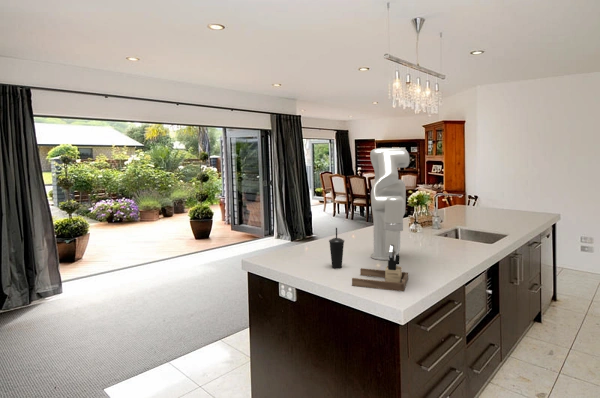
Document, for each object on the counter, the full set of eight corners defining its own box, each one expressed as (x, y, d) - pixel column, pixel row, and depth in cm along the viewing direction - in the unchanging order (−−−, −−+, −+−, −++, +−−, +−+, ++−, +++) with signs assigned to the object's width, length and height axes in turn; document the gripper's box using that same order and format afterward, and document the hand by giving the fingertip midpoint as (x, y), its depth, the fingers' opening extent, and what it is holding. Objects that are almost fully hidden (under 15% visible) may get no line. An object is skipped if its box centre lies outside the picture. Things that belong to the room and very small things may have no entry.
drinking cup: (343, 264, 185) (342, 226, 183) (345, 269, 177) (345, 228, 175) (328, 265, 184) (327, 226, 182) (330, 269, 177) (329, 229, 175)
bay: (361, 274, 168) (360, 268, 168) (408, 279, 160) (408, 272, 160) (352, 285, 153) (352, 278, 153) (403, 291, 145) (403, 284, 145)
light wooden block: (387, 281, 158) (387, 265, 158) (401, 282, 156) (401, 266, 155) (385, 285, 153) (385, 269, 152) (399, 286, 150) (399, 270, 150)
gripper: (388, 223, 161) (388, 261, 163) (381, 229, 145) (381, 271, 147) (405, 224, 158) (405, 262, 160) (400, 230, 143) (400, 273, 144)
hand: (393, 266), depth 153 cm, fingers open, 9 cm apart
